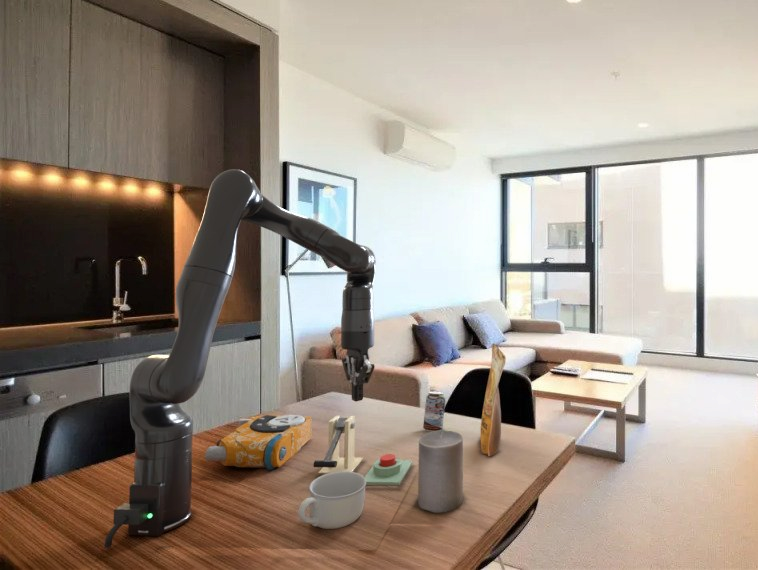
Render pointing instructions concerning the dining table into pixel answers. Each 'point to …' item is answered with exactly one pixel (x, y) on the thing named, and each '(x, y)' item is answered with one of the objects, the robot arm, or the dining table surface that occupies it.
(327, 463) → the press lever
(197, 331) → the robot arm
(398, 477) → the button block
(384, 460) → the button
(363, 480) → the teacup
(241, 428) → the device
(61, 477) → the dining table surface
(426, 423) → the beverage can
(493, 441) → the pancake mix bag
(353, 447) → the lever bracket
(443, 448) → the pillar candle
